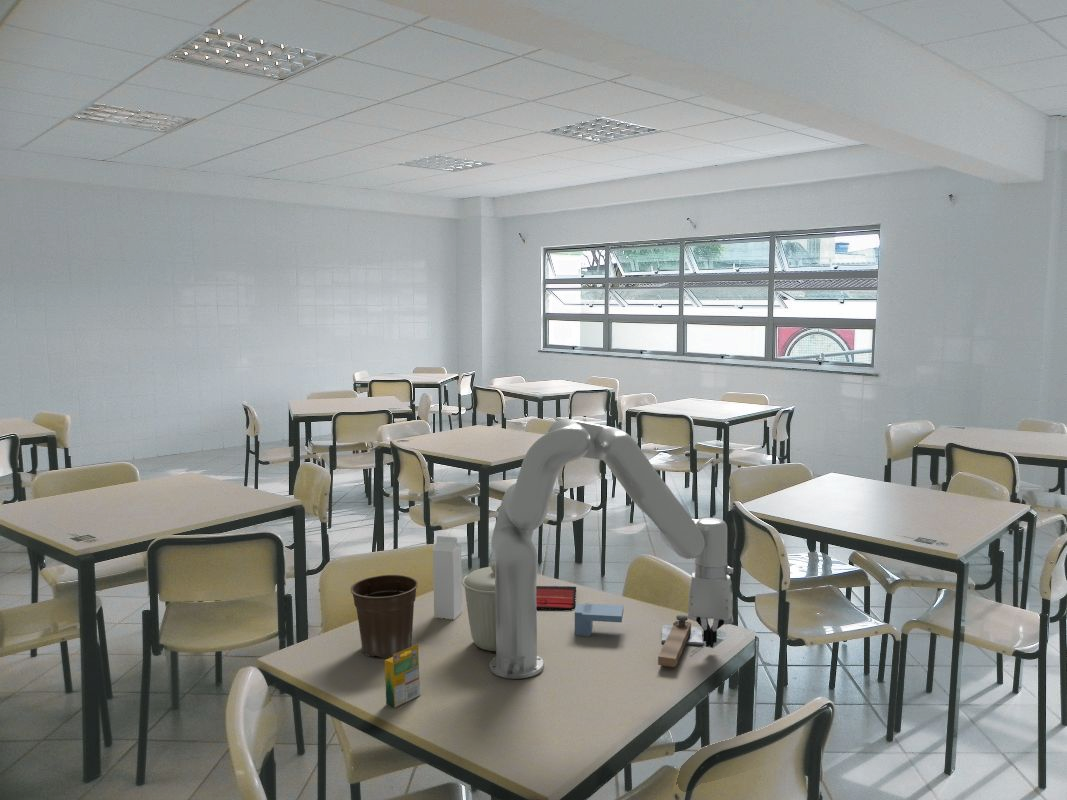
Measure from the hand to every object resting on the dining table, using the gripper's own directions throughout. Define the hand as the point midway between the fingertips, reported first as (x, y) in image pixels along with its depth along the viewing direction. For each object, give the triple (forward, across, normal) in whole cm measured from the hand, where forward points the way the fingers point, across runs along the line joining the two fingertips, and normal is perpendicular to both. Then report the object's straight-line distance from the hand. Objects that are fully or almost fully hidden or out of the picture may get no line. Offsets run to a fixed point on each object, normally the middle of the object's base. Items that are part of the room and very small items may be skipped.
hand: (710, 644), depth 191 cm
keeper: (+2, +29, -4) cm, 29 cm away
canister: (+2, +50, +11) cm, 52 cm away
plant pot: (+2, +76, +22) cm, 79 cm away
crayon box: (+2, +59, +45) cm, 74 cm away
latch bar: (+1, +8, +1) cm, 8 cm away
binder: (+3, +51, -22) cm, 56 cm away
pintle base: (+2, +8, -8) cm, 12 cm away
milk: (+2, +71, -3) cm, 71 cm away
